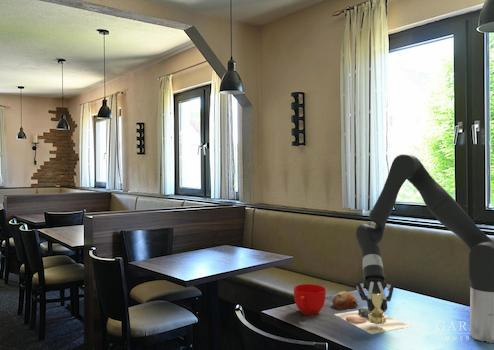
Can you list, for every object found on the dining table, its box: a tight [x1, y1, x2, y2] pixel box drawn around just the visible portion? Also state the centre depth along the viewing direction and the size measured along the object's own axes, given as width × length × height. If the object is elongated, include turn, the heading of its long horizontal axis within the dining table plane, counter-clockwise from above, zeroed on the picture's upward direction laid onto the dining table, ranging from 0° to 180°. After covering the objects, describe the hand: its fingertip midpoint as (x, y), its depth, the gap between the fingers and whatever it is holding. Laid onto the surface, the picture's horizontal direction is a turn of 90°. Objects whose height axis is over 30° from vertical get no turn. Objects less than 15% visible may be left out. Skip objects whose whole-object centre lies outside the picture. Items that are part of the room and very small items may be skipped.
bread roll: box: [332, 290, 359, 310], centre depth 187 cm, size 10×10×8 cm
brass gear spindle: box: [368, 292, 387, 324], centre depth 158 cm, size 6×6×10 cm
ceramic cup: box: [293, 283, 327, 316], centre depth 176 cm, size 13×17×10 cm
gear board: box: [333, 305, 412, 335], centre depth 165 cm, size 22×18×5 cm
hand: (377, 310), depth 156 cm, fingers closed on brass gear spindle, 4 cm apart
